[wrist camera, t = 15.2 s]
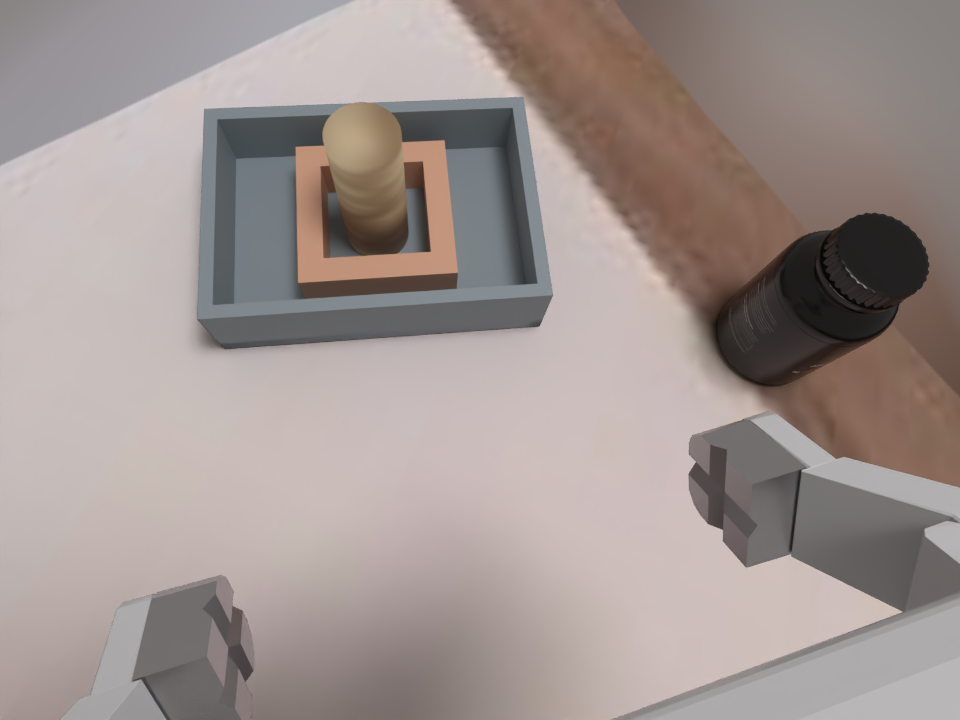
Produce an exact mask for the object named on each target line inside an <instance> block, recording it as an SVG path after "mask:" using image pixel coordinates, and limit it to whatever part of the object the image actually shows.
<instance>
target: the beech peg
mask: <svg viewBox="0 0 960 720" xmlns="http://www.w3.org/2000/svg"><path fill="white" fill-rule="evenodd" d="M322 137H323V143H324V147H325V151H326V154H327V158H328V162H329V166H330V170H331V174H332V178H333V182H334V185H335V189H336V193H337V197H338V201H339V205H340V209H341V213H342V216H343V220H344V224H345V228H346V232H347V236H348V240H349V242H350V245H351V246H352V248H353V249H354V250H355V251H356V252H357V253H358V254H360V255H362V256H369V255H386V254H397V253H399V252H400V251H401V250H402V249H403V248H404V246H405V245H406V242H407V240H408V236H409V228H408V214H407V201H406V187H405V174H404V160H403V146H402V133H401V128H400V125H399V123H398V121H397V119H396V118H395V116H394V115H393V114H392V113H391V112H389V111H388V110H387V109H385V108H383V107H381V106H379V105H376V104H372V103H366V102H359V103H352V104H348V105H345V106H343V107H341V108H339V109H338V110H336V111H335V112H334V113H333V114H332V115H331V116H330V117H329V118H328V119H327V121H326V123H325V125H324V128H323V136H322Z"/></svg>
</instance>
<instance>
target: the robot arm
mask: <svg viewBox="0 0 960 720" xmlns="http://www.w3.org/2000/svg"><path fill="white" fill-rule="evenodd" d="M689 455H690V456H691V457H692V458H693V459H694V460H695V461H696V463H695V465H694V466H693V468H692V469H691V471H690V472H689V474H688V475H689V491H690V494H691V497H692V500H693V503H694V505H695V507H696V509H697V510H698V512H699V514H700V515H701V516H702V518H703V519H704V520H705V521H706V522H707V524H709V525H712V526H715V527H717V528H720V529H722V530H723V542H724V543H725V544H726V545H727V547H728V548H729V549H730V550H731V551H732V552H733V553H734V554H735V556H736V557H737V558H738V559H739V560H740V561H741V562H742V564H743V565H744V566H745V567H746V568H747V567H750V566H754V565H757V564H760V563H763V562H767V561H770V560H773V559H776V558H780V557H783V556H786V555H789V554H792V555H791V557H793V558H795V559H797V560H799V561H802V562H804V563H806V564H808V565H810V566H812V567H814V568H816V569H818V570H820V571H822V572H824V573H826V574H828V575H830V576H832V577H834V578H836V579H838V580H840V581H842V582H844V583H846V584H848V585H850V586H852V587H854V588H856V589H858V590H860V591H862V592H864V593H866V594H868V595H870V596H872V597H874V598H876V599H878V600H880V601H882V602H884V603H886V604H888V605H890V606H892V607H895V608H897V609H899V610H901V611H903V612H902V613H900V614H897V615H894V616H891V617H889V618H886V619H883V620H880V621H878V622H875V623H872V624H870V625H867V626H864V627H861V628H859V629H856V630H853V631H851V632H848V633H845V634H842V635H840V636H837V637H834V638H831V639H829V640H826V641H823V642H821V643H818V644H815V645H812V646H810V647H807V648H804V649H802V650H799V651H796V652H793V653H791V654H788V655H785V656H783V657H780V658H777V659H774V660H772V661H769V662H766V663H764V664H761V665H758V666H755V667H753V668H750V669H747V670H745V671H742V672H739V673H736V674H734V675H731V676H728V677H726V678H723V679H720V680H717V681H715V682H712V683H709V684H707V685H704V686H701V687H699V688H696V689H693V690H690V691H688V692H685V693H682V694H680V695H677V696H674V697H671V698H669V699H666V700H663V701H661V702H658V703H655V704H652V705H650V706H647V707H644V708H642V709H639V710H636V711H633V712H631V713H628V714H625V715H622V716H620V717H617V718H614V719H612V720H960V488H958V487H955V486H951V485H947V484H943V483H940V482H936V481H932V480H928V479H925V478H921V477H917V476H913V475H910V474H906V473H902V472H898V471H895V470H891V469H887V468H883V467H880V466H876V465H872V464H868V463H865V462H861V461H857V460H853V459H850V458H846V457H843V458H839V459H835V458H834V457H833V456H831V455H830V454H829V453H827V452H826V451H825V450H823V449H822V448H821V447H819V446H818V445H817V444H815V443H814V442H813V441H811V440H810V439H809V438H807V437H806V436H805V435H803V434H802V433H801V432H800V431H798V430H797V429H796V428H794V427H793V426H792V425H790V424H789V423H788V422H786V421H785V420H784V419H782V418H781V417H780V416H778V415H777V414H775V413H772V412H769V411H767V412H764V413H761V414H758V415H755V416H751V417H748V418H745V419H743V420H742V421H737V422H734V423H731V424H727V425H724V426H721V427H718V428H714V429H711V430H708V431H704V432H701V433H698V434H695V435H692V437H691V439H690V442H689ZM233 593H234V591H233V589H232V587H231V585H230V584H229V582H228V580H227V578H226V577H225V576H222V575H219V576H215V577H212V578H208V579H204V580H201V581H197V582H193V583H190V584H186V585H182V586H179V587H175V588H171V589H168V590H164V591H160V592H157V593H156V594H152V595H148V596H144V597H141V598H137V599H133V600H130V601H126V602H123V603H122V604H121V605H120V606H119V607H118V609H117V610H116V612H115V615H114V619H113V622H112V625H111V628H110V632H109V635H108V638H107V641H106V645H105V648H104V651H103V654H102V658H101V661H100V664H99V667H98V671H97V674H96V677H95V680H94V684H93V687H92V690H91V693H90V695H89V696H86V697H83V698H80V699H79V700H78V701H77V702H76V703H75V704H74V705H73V706H72V707H71V708H70V710H69V711H68V712H67V713H66V714H65V715H64V716H63V717H62V718H61V719H60V720H251V705H252V695H251V693H250V691H249V689H248V687H247V685H246V683H245V682H246V681H247V679H248V678H249V676H250V675H251V673H252V672H253V670H254V650H253V642H252V635H251V631H250V628H249V624H248V621H247V619H246V617H245V615H244V612H243V611H242V610H240V609H238V608H235V607H233V606H232V604H233Z"/></svg>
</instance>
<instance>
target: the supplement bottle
mask: <svg viewBox="0 0 960 720" xmlns="http://www.w3.org/2000/svg"><path fill="white" fill-rule="evenodd" d="M928 267H929V263H928V255H927V253H926V248H925V247H924V246H923V245H922V241H921V240H920V239H919V238H918V237H917V235H916V233H915V232H913V231H912V230H911V229H910V228H909V227H908V226H907V225H904V224H903V223H902V222H901V221H899V220H896V219H895V218H893V217H891V216H887V215H885V214H877V213H872V214H870V213H865V214H863V215H857V216H855V217H854V218H850V219H848V220H847V221H846V222H845V223H844V224H842V225H841V226H840V227H838V228H836V229H834V230H826V231H818V232H813V233H809V234H807V235H804V236H802V237H800V238H798V239H797V240H796V241H794V242H793V243H792V244H790V245H789V246H788V247H787V248H786V249H785V250H783V251H782V252H781V253H780V254H779V255H778V256H777V257H776V258H775V259H773V260H772V261H771V262H770V263H769V264H768V265H767V266H766V267H765V268H764V269H762V270H761V271H760V272H759V273H758V274H757V275H756V276H755V277H754V278H752V279H751V280H750V281H749V282H748V283H747V284H746V285H745V286H744V287H743V288H741V289H740V290H739V291H738V292H737V293H736V294H735V295H734V296H733V297H732V298H731V299H730V300H729V301H728V302H727V303H726V304H725V306H724V307H723V309H722V311H721V313H720V316H719V319H718V324H717V335H718V341H719V344H720V347H721V350H722V352H723V354H724V355H725V357H726V359H727V360H728V361H729V363H730V364H731V365H732V366H733V367H734V368H735V369H736V370H737V371H739V372H740V373H741V374H743V375H744V376H746V377H748V378H750V379H752V380H754V381H757V382H760V383H764V384H771V385H779V384H786V383H789V382H792V381H795V380H797V379H799V378H801V377H803V376H805V375H807V374H809V373H811V372H813V371H815V370H817V369H819V368H821V367H823V366H824V365H826V364H828V363H830V362H832V361H834V360H836V359H838V358H840V357H842V356H843V355H845V354H847V353H849V352H851V351H853V350H855V349H857V348H859V347H861V346H862V345H864V344H866V343H868V342H870V341H872V340H873V339H875V338H876V337H878V336H880V335H881V334H882V333H883V332H885V331H886V330H887V329H888V328H889V326H890V325H891V324H892V322H893V320H894V319H895V317H896V314H897V312H898V308H899V305H900V303H901V302H902V301H903V300H905V299H906V298H908V297H910V296H911V295H913V294H915V293H916V292H917V290H919V289H920V288H921V287H922V286H923V283H924V282H925V281H926V279H927V278H926V276H927V275H928V273H929V271H928Z"/></svg>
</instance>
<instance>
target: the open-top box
mask: <svg viewBox="0 0 960 720" xmlns="http://www.w3.org/2000/svg"><path fill="white" fill-rule="evenodd" d="M351 104H352V103H351ZM372 104H376V105H379V106H381V107H383V108H385V109H387V110H388V111H389V112H391V113H392V114H393V115H394V116H395V118H396V119H397V121H398V123H399V125H400V128H401V133H402V146H403V160H404V174H405V187H406V201H407V214H408V228H409V236H408V240H407V242H406V245H405V246H404V248H403V249H402V250H401V251H400V252H399V253H397V254H386V255H369V256H362V255H360V254H358V253H357V252H356V251H355V250H354V249H353V248H352V246H351V245H350V242H349V240H348V236H347V232H346V228H345V224H344V220H343V216H342V213H341V209H340V205H339V201H338V197H337V193H336V189H335V185H334V182H333V178H332V174H331V170H330V166H329V162H328V158H327V154H326V151H325V147H324V143H323V137H322V136H323V128H324V125H325V123H326V121H327V119H328V118H329V117H330V116H331V115H332V114H333V113H334V112H335V111H336V110H338V109H339V108H341V107H343V106H345V105H348V104H324V105H297V106H271V107H244V108H217V109H204V129H203V159H202V189H201V219H200V249H199V279H198V309H197V320H198V321H199V322H200V323H201V324H202V325H203V326H204V327H205V328H206V329H207V330H208V331H209V332H210V334H211V335H212V336H213V337H214V338H215V339H216V340H217V341H218V342H219V343H220V344H221V345H222V346H223V347H224V348H225V349H232V348H246V347H260V346H273V345H287V344H301V343H315V342H328V341H342V340H356V339H370V338H384V337H397V336H411V335H425V334H439V333H452V332H466V331H480V330H494V329H507V328H521V327H535V326H540V324H541V322H542V319H543V317H544V315H545V312H546V310H547V308H548V305H549V303H550V301H551V299H552V296H553V292H552V285H551V279H550V272H549V265H548V259H547V252H546V245H545V239H544V232H543V225H542V219H541V212H540V205H539V198H538V192H537V185H536V178H535V172H534V165H533V158H532V152H531V145H530V138H529V132H528V125H527V118H526V111H525V105H524V98H523V97H511V98H485V99H458V100H431V101H404V102H378V103H372Z"/></svg>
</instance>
